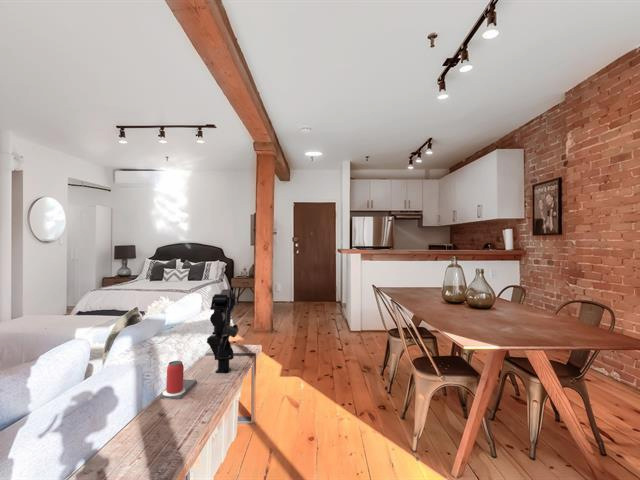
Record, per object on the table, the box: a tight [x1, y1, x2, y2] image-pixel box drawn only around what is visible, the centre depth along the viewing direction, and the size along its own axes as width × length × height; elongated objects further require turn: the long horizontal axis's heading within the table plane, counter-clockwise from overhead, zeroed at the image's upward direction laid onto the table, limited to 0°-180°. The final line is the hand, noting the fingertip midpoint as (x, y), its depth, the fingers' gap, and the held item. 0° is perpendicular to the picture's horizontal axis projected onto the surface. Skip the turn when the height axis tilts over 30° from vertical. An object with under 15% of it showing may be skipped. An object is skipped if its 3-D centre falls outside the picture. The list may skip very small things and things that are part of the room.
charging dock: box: [159, 378, 198, 400], centre depth 150 cm, size 18×9×2 cm, turn 179°
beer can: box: [165, 360, 185, 394], centre depth 145 cm, size 7×7×12 cm
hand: (219, 353), depth 161 cm, fingers open, 9 cm apart
